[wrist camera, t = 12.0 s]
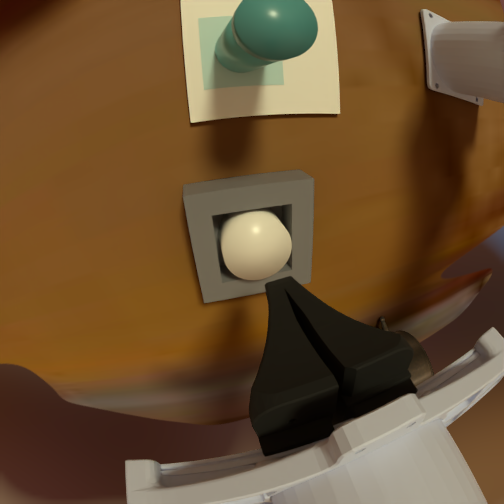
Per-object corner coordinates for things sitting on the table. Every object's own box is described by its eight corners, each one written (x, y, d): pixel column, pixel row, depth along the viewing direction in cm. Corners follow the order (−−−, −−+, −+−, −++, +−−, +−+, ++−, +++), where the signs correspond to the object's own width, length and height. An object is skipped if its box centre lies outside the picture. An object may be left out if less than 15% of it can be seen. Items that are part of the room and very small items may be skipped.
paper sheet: (321, -48, 10) (323, -50, 10) (337, 113, 17) (340, 113, 17) (179, -55, 8) (179, -57, 8) (190, 122, 16) (190, 122, 15)
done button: (277, 197, 19) (291, 213, 17) (278, 251, 22) (291, 273, 19) (214, 206, 19) (218, 224, 16) (221, 261, 21) (227, 285, 18)
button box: (300, 169, 19) (314, 178, 17) (299, 265, 23) (310, 282, 21) (183, 184, 18) (182, 196, 16) (201, 283, 22) (204, 303, 20)
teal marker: (266, 26, 13) (314, -7, 7) (269, 72, 15) (320, 61, 9) (212, 27, 12) (233, -13, 7) (216, 75, 14) (237, 59, 8)
